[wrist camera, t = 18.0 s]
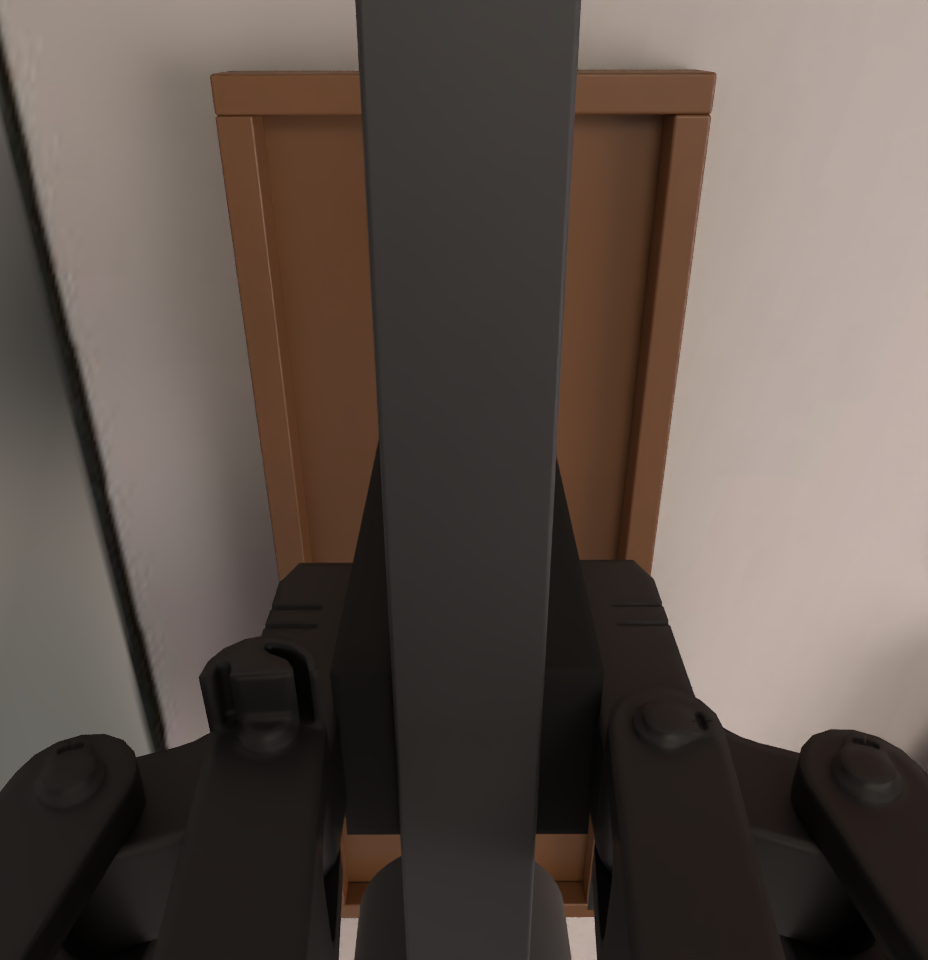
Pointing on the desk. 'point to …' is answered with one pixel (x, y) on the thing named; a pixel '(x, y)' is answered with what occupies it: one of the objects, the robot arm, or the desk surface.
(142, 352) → the desk surface
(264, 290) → the spoon rest
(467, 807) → the ladle
